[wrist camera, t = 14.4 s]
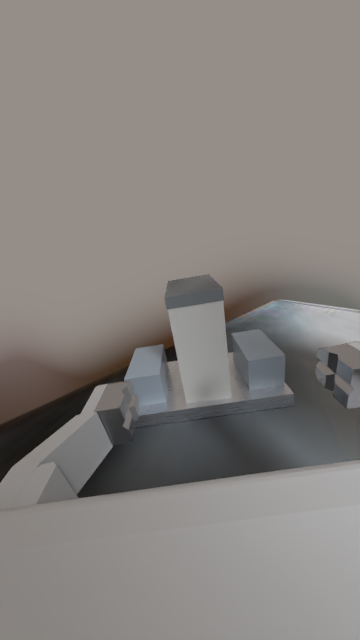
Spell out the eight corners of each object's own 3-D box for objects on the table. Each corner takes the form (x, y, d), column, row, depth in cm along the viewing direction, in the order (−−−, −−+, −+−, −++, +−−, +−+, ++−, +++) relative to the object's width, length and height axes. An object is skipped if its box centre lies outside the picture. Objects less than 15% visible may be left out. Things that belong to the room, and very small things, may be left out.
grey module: (217, 357, 26) (208, 274, 22) (232, 397, 19) (222, 287, 15) (183, 362, 26) (168, 281, 22) (185, 403, 19) (164, 297, 15)
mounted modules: (260, 353, 25) (259, 328, 24) (284, 385, 19) (285, 355, 18) (142, 371, 26) (135, 348, 24) (133, 406, 20) (124, 379, 19)
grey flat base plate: (258, 357, 27) (258, 348, 26) (293, 405, 19) (294, 393, 18) (144, 374, 27) (142, 365, 27) (131, 428, 20) (128, 417, 19)
